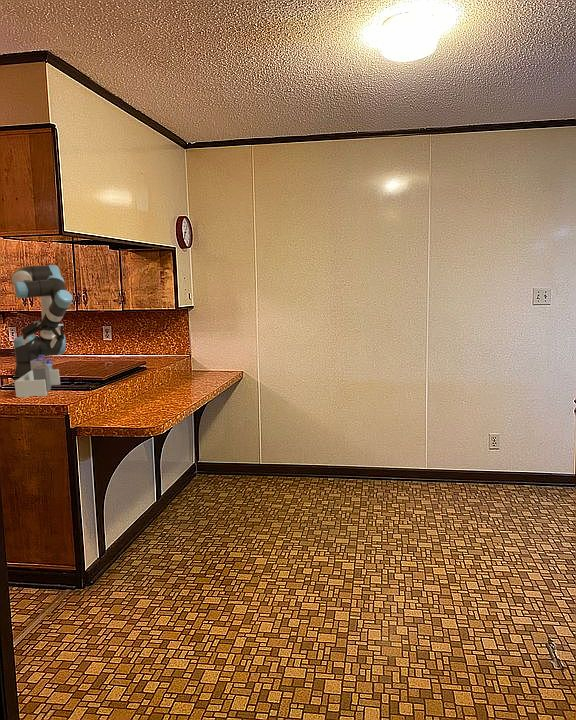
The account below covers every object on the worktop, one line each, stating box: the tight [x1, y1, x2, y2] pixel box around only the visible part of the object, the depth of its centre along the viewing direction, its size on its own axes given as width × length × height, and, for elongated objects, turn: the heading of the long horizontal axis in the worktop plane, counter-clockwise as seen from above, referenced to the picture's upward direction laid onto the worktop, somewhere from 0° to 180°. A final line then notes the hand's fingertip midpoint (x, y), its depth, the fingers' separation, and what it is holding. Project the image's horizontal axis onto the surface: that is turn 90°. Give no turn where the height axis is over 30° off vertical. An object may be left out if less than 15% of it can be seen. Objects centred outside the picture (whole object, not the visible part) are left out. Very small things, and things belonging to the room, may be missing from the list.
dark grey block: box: [33, 366, 52, 393], centre depth 316 cm, size 6×6×12 cm
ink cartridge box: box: [30, 355, 54, 371], centre depth 334 cm, size 10×6×14 cm, turn 78°
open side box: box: [14, 368, 61, 398], centre depth 316 cm, size 24×14×8 cm, turn 4°
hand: (37, 344), depth 308 cm, fingers open, 13 cm apart
